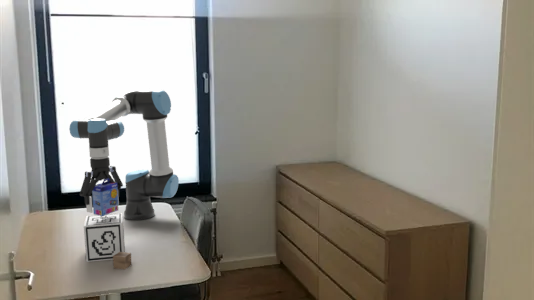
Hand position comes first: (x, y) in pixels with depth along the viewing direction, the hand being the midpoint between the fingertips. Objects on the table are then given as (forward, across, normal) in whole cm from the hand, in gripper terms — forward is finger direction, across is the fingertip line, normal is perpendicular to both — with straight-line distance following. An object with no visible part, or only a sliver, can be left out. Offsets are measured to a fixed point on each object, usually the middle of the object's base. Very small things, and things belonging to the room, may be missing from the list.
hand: (103, 208), depth 241 cm
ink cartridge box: (+2, +2, 0) cm, 3 cm away
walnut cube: (+20, -6, -17) cm, 27 cm away
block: (+20, 0, 0) cm, 20 cm away
